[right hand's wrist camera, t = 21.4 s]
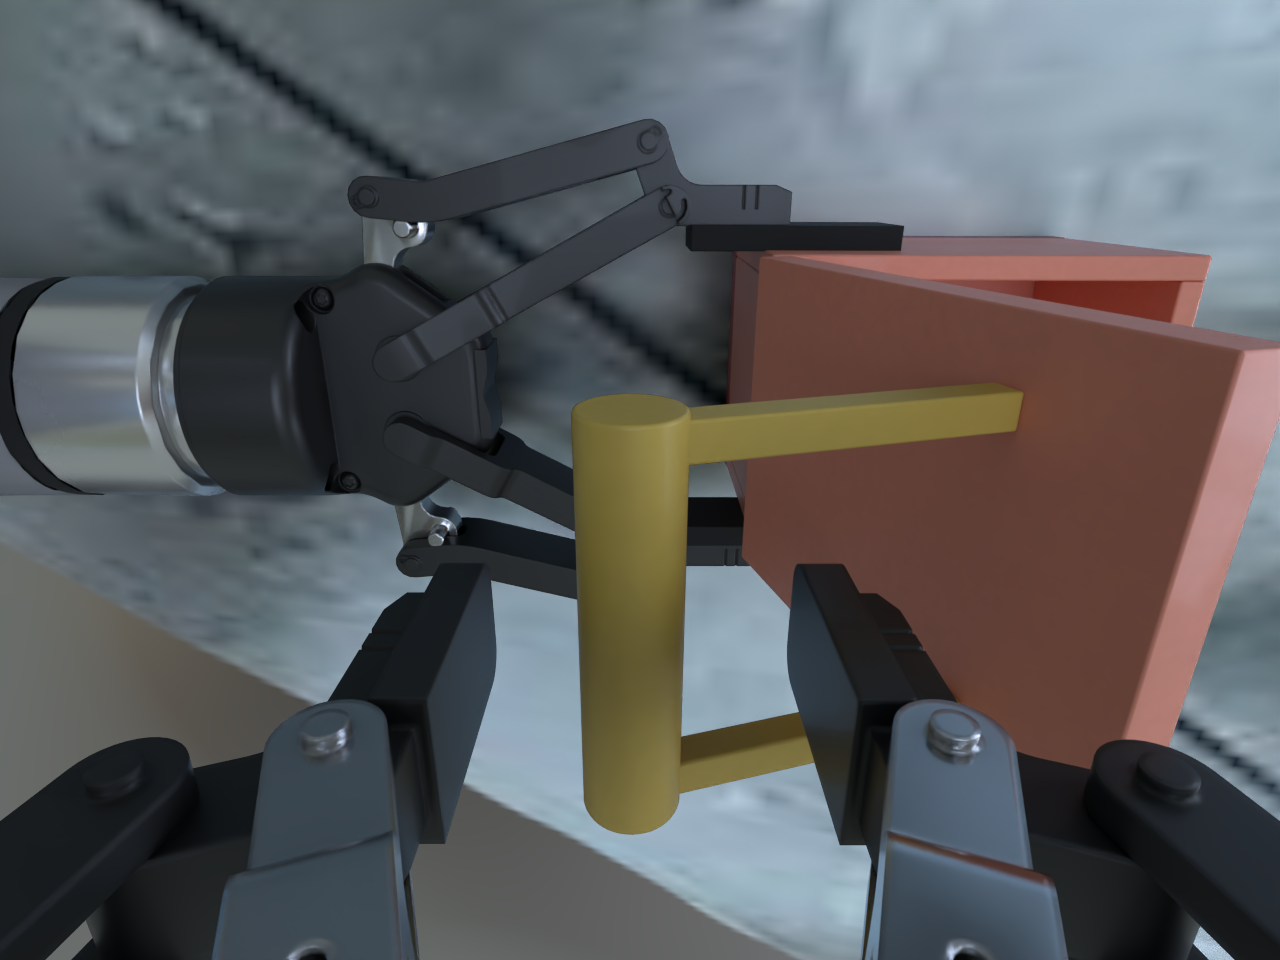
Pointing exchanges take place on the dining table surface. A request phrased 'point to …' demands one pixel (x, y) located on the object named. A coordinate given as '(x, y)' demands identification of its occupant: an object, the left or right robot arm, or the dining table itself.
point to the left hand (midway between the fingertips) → (869, 388)
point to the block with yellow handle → (927, 514)
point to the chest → (990, 285)
